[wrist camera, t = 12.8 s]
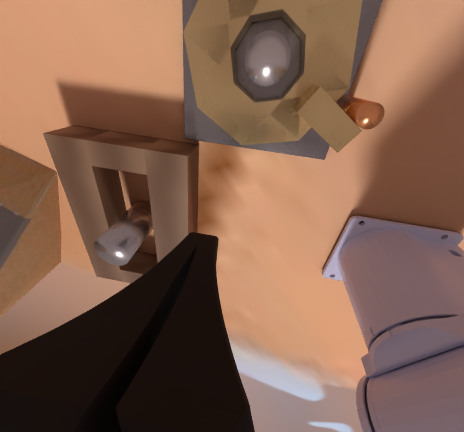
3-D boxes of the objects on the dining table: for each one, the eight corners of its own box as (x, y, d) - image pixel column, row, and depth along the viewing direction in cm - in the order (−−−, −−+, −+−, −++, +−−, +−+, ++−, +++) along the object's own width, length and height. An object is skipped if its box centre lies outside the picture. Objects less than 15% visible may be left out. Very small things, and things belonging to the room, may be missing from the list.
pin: (158, 203, 22) (125, 241, 17) (161, 226, 23) (132, 268, 18) (130, 198, 22) (89, 235, 17) (135, 222, 23) (99, 262, 18)
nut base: (412, -58, 11) (504, -142, 6) (330, 158, 17) (351, 185, 13) (184, -79, 11) (136, -167, 7) (187, 136, 17) (161, 155, 13)
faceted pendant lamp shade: (263, -105, 10) (260, -194, 7) (395, 64, 13) (441, 60, 9) (172, 77, 15) (144, 77, 11) (283, 173, 17) (287, 196, 14)
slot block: (198, 144, 18) (187, 155, 15) (196, 274, 27) (188, 294, 24) (73, 125, 18) (42, 133, 16) (112, 258, 27) (96, 276, 25)
